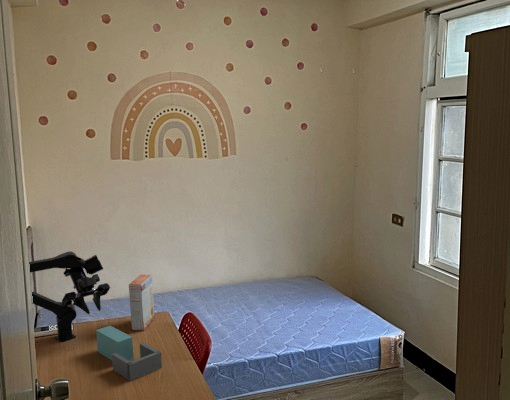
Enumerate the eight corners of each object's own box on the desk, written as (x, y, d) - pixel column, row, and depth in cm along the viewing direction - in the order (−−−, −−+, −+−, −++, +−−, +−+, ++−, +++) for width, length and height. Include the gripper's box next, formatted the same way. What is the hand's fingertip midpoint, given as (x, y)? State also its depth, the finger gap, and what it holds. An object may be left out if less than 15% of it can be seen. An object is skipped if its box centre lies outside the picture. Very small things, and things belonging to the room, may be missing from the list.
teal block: (97, 352, 195) (96, 330, 193) (111, 346, 199) (110, 325, 198) (119, 365, 184) (117, 342, 182) (133, 359, 188) (132, 337, 186)
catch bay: (112, 369, 180) (111, 354, 179) (143, 357, 189) (143, 342, 188) (130, 381, 172) (129, 364, 171) (161, 367, 181) (161, 352, 180)
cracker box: (142, 318, 228) (140, 273, 225) (155, 318, 227) (152, 274, 224) (130, 330, 214) (127, 283, 211) (144, 331, 213) (141, 284, 210)
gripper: (62, 274, 194) (77, 308, 188) (106, 264, 207) (122, 295, 201) (55, 289, 201) (70, 322, 195) (98, 278, 214) (113, 309, 208)
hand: (94, 312), depth 199 cm, fingers open, 4 cm apart
